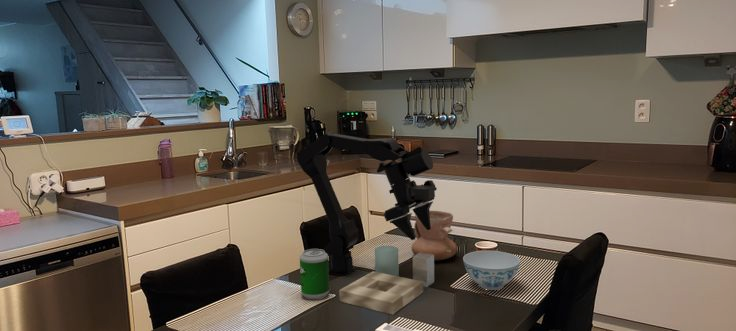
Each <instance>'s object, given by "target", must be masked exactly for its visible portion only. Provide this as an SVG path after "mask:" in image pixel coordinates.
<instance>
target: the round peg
mask: <svg viewBox="0 0 736 331" xmlns="http://www.w3.org/2000/svg"><path fill="white" fill-rule="evenodd" d="M374 262H375V263H374V267H375V268H374V270H375V271H374V272H379V273H384V274H389V275H394V276H398V277H400V274H399V271H400V270H399V268H400V267H399V266H400V265H399V247H398V246H393V245H381V246H380V245H379V246H377V247H376V248H374Z"/></svg>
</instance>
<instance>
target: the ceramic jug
mask: <svg viewBox="0 0 736 331" xmlns="http://www.w3.org/2000/svg"><path fill="white" fill-rule="evenodd" d="M429 214H430V225H431V229H430V230H427V229H426V228H425V227H424V226H423V224H422V223H421V221H420V220H419V218H418V217H417V216H416V214H415V213H414V218H415V223H414V229H413V230H414V235H415V238H416V239H415V241H413V243H412V245H411V252H412V254H413V255H414V256H415V255H416V254H418V253H420V252H421V253H427V254H433V255H434V262H436V261H438V262H439V261H445V260H448V259H450V258H452V257H454V256H455V255H456V254H457V251H458V250H457V249H458V246H457V244H456V243H455V241H454V240H451V238H449V237H448V234H450V233H451V232H453V229H452V228H451V227H452V224H453V222H454V221H453V220H454V214H453V213H451V212H446V211H442V210H441V211H440V210H431V209H429Z"/></svg>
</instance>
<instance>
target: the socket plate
mask: <svg viewBox="0 0 736 331" xmlns="http://www.w3.org/2000/svg"><path fill="white" fill-rule="evenodd" d="M338 293H339V302H341V303H345V304H350V305H353V306H357V307H361V308H365V309H368V310H373V311H377V312H381V313H383V314H389V315H395V313H397V312H398V311H400V310H401V309H402V308H404V307H405V306H406V305H408V304H409V303H411V302H412V301H413V300H414V299H416V298H418V297H419V296H420V295H422V293H424V286H423V281H418V280H413V278H407V277H402V276H394V275H389V274H384V273H379V272H375V271H374V270H373V271H371V272H369V273H367V274H366V275H364V276H362V277H360V278H357V280H355V281H353V282H351V283H349V284H348V285H346V286H344V287H342V288H340V289H339V290H338Z"/></svg>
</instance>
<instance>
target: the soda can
mask: <svg viewBox="0 0 736 331" xmlns="http://www.w3.org/2000/svg"><path fill="white" fill-rule="evenodd" d="M299 271H300V273H299V275H300V289H301V290H300V293H301V295H302V296H303V297H304V298H305V299H307V300H310V299H317V300H320V299H321V300H322V299H324V298H326V296H327V295H328V294H329V293H330V277H329V275H330V273H329V255H328V254H327V253H325V250H324V249H321V248H320V249H319V248H310V249H306V250H305V249H304V250H303V251H302V253H301V254H300V255H299Z"/></svg>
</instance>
